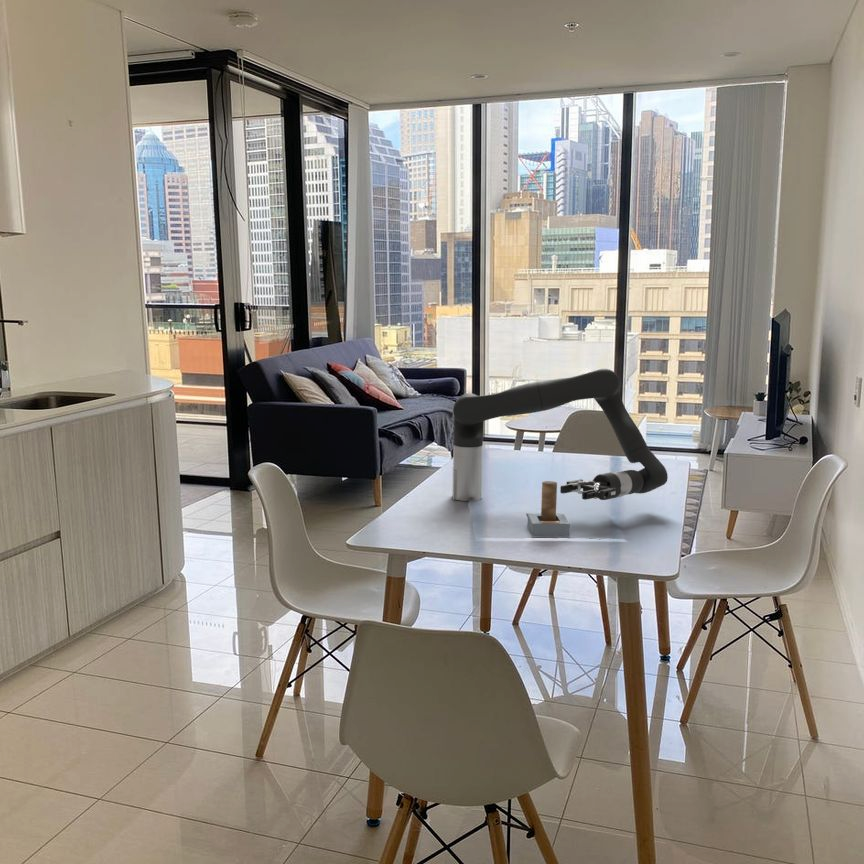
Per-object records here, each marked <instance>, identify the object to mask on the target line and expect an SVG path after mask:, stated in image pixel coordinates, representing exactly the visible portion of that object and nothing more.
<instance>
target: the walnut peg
mask: <svg viewBox="0 0 864 864" xmlns="http://www.w3.org/2000/svg"><path fill="white" fill-rule="evenodd" d="M541 484H542V486H541V509H540V510H541V513H540V514H541V521H556V514H557V498H558V497H557V495H558V494H557V493H558V482H557V481H553V480H552V481H551V480H547V481H545V480H544V481H542V482H541Z"/></svg>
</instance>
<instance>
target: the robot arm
mask: <svg viewBox="0 0 864 864" xmlns="http://www.w3.org/2000/svg"><path fill="white" fill-rule="evenodd" d="M620 384H621V383H620V378H619V376H618V375H617V373H616V372H615V371H614V370H611V369H608V368H599V369H597V370H596V369H595V370H592V371H589V372H586V373H583V374H582V373H581V374H579V375H575V376H571V377H569V376H568V377H563V378H555V379H546V380H539V381H534V382H528V383H524V384H521V385H517V386H514V387H511V388H508V389H506V390H503V391H500V392H497V393H491V394H485V395H477V394H475V393H472V392H471V393H469V392H468V393H464V394H461V395H460V396H459V397H457V399H456V401H455V402H454V405H453V409H452V414H453V416H454V426H453V427H454V431H453V452H452V454H453V457H452V458H453V459H452V461H453V462H452V465H453V467H452V501H460V502H461V501H462V502H469V501H480V500H481V499H482V493H483V489H482V488H483V451H484V450H483V449H484V447H483V445H484V443H483V442H484V426H485V425H484V423H485V421H488V420H492V419H496V418H500V417H501V418H502V417H511V416H518V415H519V416H520V415H527V414H533V413H540V412H544V411H548V410H552V409H555V408H558V407H561V406H564V405H566V404H569V403H570V402H571V403H572V402H576V401H581V400H588V399H589V400H590V399H594V400H595V401H596V403H597V405H599V407H600V409H601V411H603V413H604V414H605V416H606V418H607V420H608V421H609V424H610V425H611V427H612V429H613V432H614V434H615V436H616V438H617V441H618V443H619V445H620V448H621V449H622V451H623V454H624V455H625V456H626V457H625V458H626V459H627V460H628V462H629V463H630V464H636V463H640V464H641V465H642V466H643V468H642V469H640V470H635V469H627V470H622V471H621V470H620V471H611V472H606V473H600V474H599V473H598V474H597V475H596V476H595V477H594V478H593V479H592V480H587V481H586V480H584V479H582V478H581V479H580V478H579V479H575V480H567V481H566V484H564V485H560V489H559V490H560V494H563V495H564V494H567V493H577V494H579V495H581V499H582V500H585V501H586V500H591V499H593V500H594V499H595V500H598V499H599V500H600V501H606V500H612V499H617V498H621V497H624V496H627V495H633V494H638V495H639V494H646V493H649V492H651V491H654V490H656V489H659V488H660V487H662V486H664V485H665V484H666V483H667V482H668V478H669V477H668V471H667V469H666V467H665V465H663V464H662V462H661V461H660V460H659V459H658V458H657V456H656V455H655V454H654V453H653V452H652V450H650V448H649V447H648V445H647V443H646V441H645V439H644V437H643V435H642V433H641V431H640V429H639V428H638V426H637V424H636V423H635V422H634V419H632V417H631V415H630V413H629V412H628V410H627V408H626V407H625V403H624V401H623V400H622V397H621V393H620V390H619V388H620Z"/></svg>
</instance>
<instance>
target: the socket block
mask: <svg viewBox="0 0 864 864" xmlns="http://www.w3.org/2000/svg"><path fill="white" fill-rule="evenodd" d="M527 514H528V517H527V527H528V529H529V531H530V534H531V536H532V537H531V539H556V537H553V536H570V525H571V524H570V522H569V520H568V518H567V517H566V515H565V514H564V513H556V521H541V513H527ZM533 536H536V537H533ZM537 536H539V537H537ZM540 536H542V537H540ZM543 536H550V537H543Z"/></svg>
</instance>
